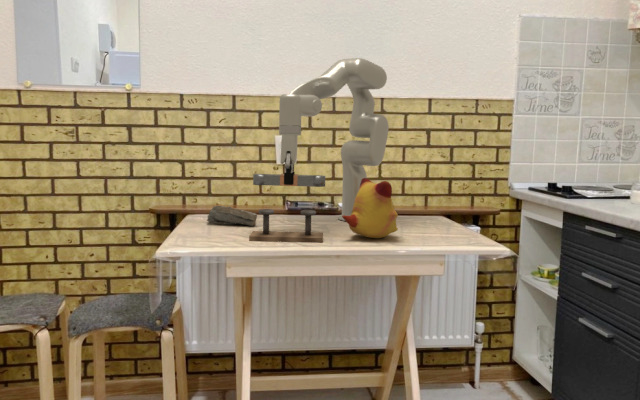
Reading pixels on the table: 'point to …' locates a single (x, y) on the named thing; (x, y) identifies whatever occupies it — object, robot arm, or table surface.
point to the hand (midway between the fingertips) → (289, 183)
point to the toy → (373, 210)
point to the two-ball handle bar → (297, 180)
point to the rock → (231, 216)
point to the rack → (286, 236)
